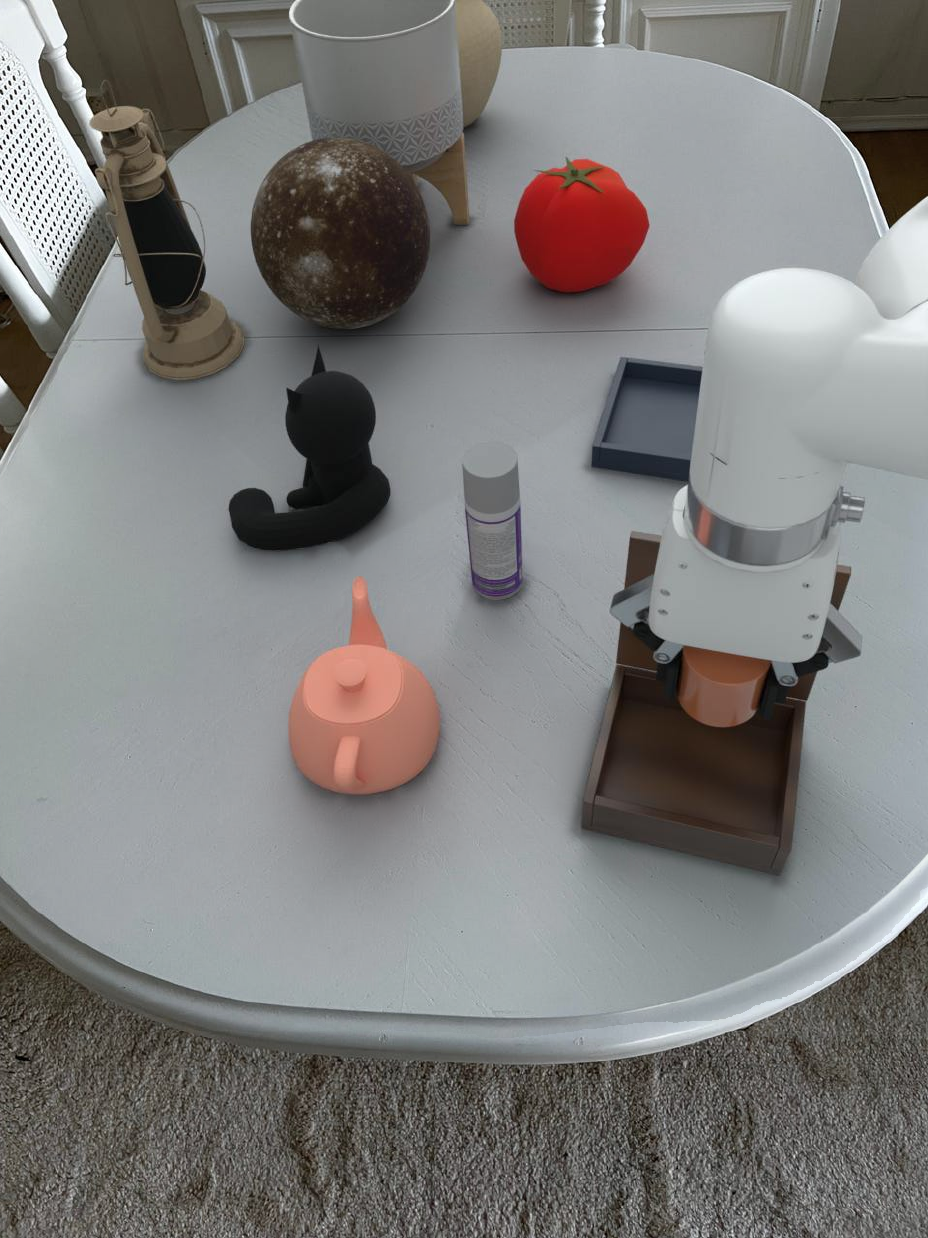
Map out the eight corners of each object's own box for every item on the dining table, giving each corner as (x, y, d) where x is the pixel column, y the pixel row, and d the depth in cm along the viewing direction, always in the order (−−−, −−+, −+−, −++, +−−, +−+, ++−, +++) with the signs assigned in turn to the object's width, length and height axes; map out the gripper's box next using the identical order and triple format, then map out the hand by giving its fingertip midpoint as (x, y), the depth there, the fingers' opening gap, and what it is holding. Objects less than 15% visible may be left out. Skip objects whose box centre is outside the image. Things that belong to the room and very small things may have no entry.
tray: (804, 401, 102) (810, 379, 99) (792, 497, 93) (798, 475, 91) (619, 377, 106) (620, 356, 104) (591, 467, 98) (592, 445, 95)
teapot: (281, 830, 75) (252, 768, 67) (309, 643, 86) (287, 573, 79) (438, 828, 74) (426, 766, 67) (445, 640, 85) (436, 569, 78)
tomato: (502, 300, 116) (497, 190, 106) (534, 239, 124) (533, 131, 114) (630, 318, 113) (639, 205, 102) (655, 254, 120) (666, 143, 110)
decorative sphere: (348, 387, 108) (315, 218, 93) (239, 321, 118) (192, 157, 102) (472, 304, 116) (460, 136, 101) (360, 249, 126) (334, 87, 110)
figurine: (304, 441, 103) (272, 320, 91) (417, 477, 98) (399, 354, 87) (214, 542, 95) (166, 422, 83) (333, 587, 90) (301, 467, 78)
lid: (851, 574, 63) (851, 566, 64) (629, 537, 67) (631, 530, 67) (807, 701, 73) (808, 693, 74) (615, 664, 77) (617, 656, 77)
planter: (457, 261, 122) (439, 37, 102) (313, 257, 125) (268, 38, 105) (479, 185, 134) (466, -30, 114) (347, 183, 137) (312, -27, 116)
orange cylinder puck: (765, 667, 67) (777, 622, 63) (756, 735, 64) (767, 692, 60) (683, 652, 68) (689, 608, 64) (670, 718, 65) (676, 675, 61)
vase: (457, 86, 154) (440, -148, 130) (527, 119, 145) (523, -126, 122) (372, 123, 148) (339, -116, 124) (440, 160, 139) (419, -90, 116)
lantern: (168, 309, 120) (76, 48, 97) (259, 313, 118) (188, 47, 95) (124, 384, 111) (11, 116, 88) (222, 389, 110) (134, 117, 86)
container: (488, 555, 91) (479, 432, 79) (531, 572, 89) (529, 449, 78) (462, 588, 89) (449, 467, 77) (507, 607, 87) (500, 486, 75)
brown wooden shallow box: (779, 875, 70) (791, 850, 67) (580, 828, 73) (582, 801, 70) (795, 730, 77) (806, 701, 74) (613, 693, 81) (616, 663, 77)
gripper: (930, 476, 52) (854, 672, 66) (612, 436, 56) (604, 628, 70) (929, 580, 47) (848, 766, 62) (584, 528, 52) (581, 713, 66)
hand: (718, 691), depth 66 cm, fingers closed on orange cylinder puck, 5 cm apart
